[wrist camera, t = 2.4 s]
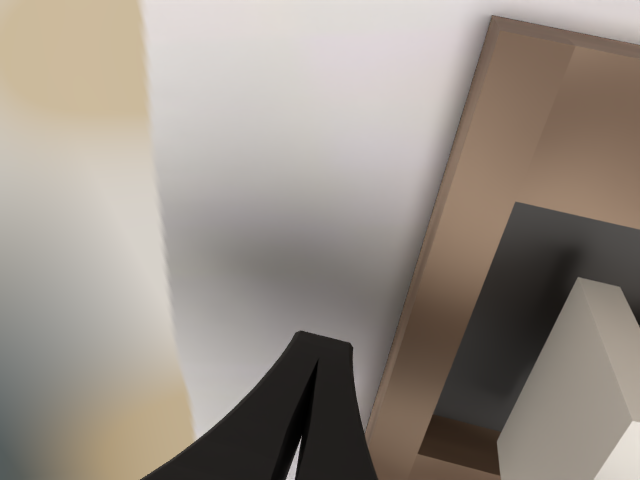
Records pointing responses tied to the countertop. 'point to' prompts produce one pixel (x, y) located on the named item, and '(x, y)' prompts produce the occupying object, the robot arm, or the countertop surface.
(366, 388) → the countertop surface
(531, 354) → the deck
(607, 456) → the slider
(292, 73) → the countertop surface
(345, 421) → the robot arm
